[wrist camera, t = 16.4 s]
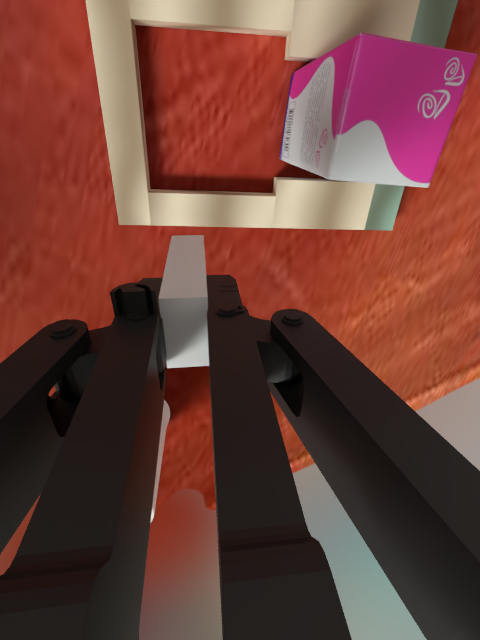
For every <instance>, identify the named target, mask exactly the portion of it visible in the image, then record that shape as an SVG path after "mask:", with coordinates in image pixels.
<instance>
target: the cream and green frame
mask: <svg viewBox="0 0 480 640" xmlns="http://www.w3.org/2000/svg"><path fill="white" fill-rule="evenodd" d="M457 2H458V0H86V7H87V13H88V20H89V27H90V33H91V40H92V47H93V53H94V60H95V67H96V74H97V80H98V87H99V94H100V100H101V107H102V114H103V120H104V127H105V134H106V140H107V147H108V154H109V161H110V167H111V174H112V181H113V187H114V194H115V201H116V207H117V214H118V221H119V225H162V226H209V227H256V228H303V229H350V230H392V229H393V225H394V222H395V218H396V215H397V211H398V208H399V204H400V201H401V197H402V194H403V190H404V187H405V186H398V185H385V184H372V183H360V182H348V181H337V180H329V179H321V178H293V177H274V183H273V193H257V192H225V191H193V190H161V189H151V188H150V177H149V166H148V156H147V145H146V134H145V124H144V113H143V102H142V92H141V81H140V70H139V60H138V49H137V38H136V28H135V25H141V26H154V27H167V28H180V29H193V30H206V31H219V32H232V33H245V34H258V35H271V36H284V37H287V38H286V50H285V60H289V61H303V62H312V61H314V60H316V59H317V58H319V57H321V56H322V55H324V54H326V53H327V52H329V51H331V50H333V49H334V48H336V47H338V46H340V45H341V44H343V43H345V42H346V41H348V40H349V39H351V38H353V37H354V36H356V35H358V34H359V33H362V32H363V33H367V34H373V35H379V36H383V37H389V38H394V39H399V40H404V41H410V42H414V43H420V44H425V45H430V46H435V47H440V48H445V44H446V41H447V37H448V34H449V30H450V27H451V23H452V20H453V16H454V13H455V9H456V6H457Z"/></svg>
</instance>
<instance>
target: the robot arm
mask: <svg viewBox="0 0 480 640" xmlns="http://www.w3.org/2000/svg"><path fill="white" fill-rule="evenodd" d="M110 295H111V300H112V304H113V309H114V314H115V317H114V320H113V322H112V325H110V326H107V327H103V328H99V329H95V330H90V331H88V327H87V324H86V323H85V322H83V321H80V320H68V319H66V320H63V321H62V320H60V321H57V322H55V323H52V324H50V325H48V326H46V327H44V328H43V329H41V330H40V331H39V332H38V333H37V334H35V335H34V336H33V337H32V338H30V339H29V340H28V341H27V342H26V343H24V344H23V345H22V346H21V347H20V348H18V349H17V350H16V351H15V352H14V353H12V354H11V355H10V356H9V357H8V358H6V359H5V360H4V361H3V362H2V363H0V554H1V552H2V551H3V549H4V548H5V546H6V545H7V543H8V542H9V540H10V539H11V537H12V536H13V534H14V533H15V531H16V530H17V528H18V527H19V525H20V524H21V522H22V521H23V519H24V518H25V516H26V515H27V513H28V512H29V510H30V509H31V507H32V506H33V504H34V503H35V501H36V500H37V498H38V497H39V495H40V494H41V495H40V498H39V501H38V503H37V505H36V508H35V510H34V512H33V515H32V517H31V520H30V522H29V524H28V527H27V529H26V531H25V534H24V536H23V539H22V541H21V544H20V546H19V548H18V551H17V553H16V556H15V558H14V560H13V561H12V563H11V565H10V567H9V568H8V569H7V571H6V572H5V573H4V574H3V575H1V576H0V640H139V623H140V612H141V603H142V594H143V585H144V576H145V567H146V558H147V549H148V540H149V531H150V522H151V513H152V504H153V495H154V486H155V477H156V468H157V459H158V450H159V441H160V432H161V423H162V414H163V405H164V396H165V387H166V370H165V363H167V368H181V367H197V366H209V375H210V395H211V415H212V435H213V454H214V474H215V494H216V513H217V533H218V553H219V574H220V594H221V613H222V636H223V640H352V639H351V636H350V633H349V629H348V626H347V623H346V619H345V616H344V613H343V609H342V606H341V603H340V599H339V596H338V593H337V589H336V586H335V583H334V579H333V576H332V573H331V570H330V567H329V564H328V561H327V558H326V555H325V552H324V550H323V549H322V547H321V545H320V543H319V541H317V540H316V539H314V538H313V537H311V535H310V533H309V531H308V529H307V525H306V522H305V519H304V515H303V511H302V507H301V504H300V500H299V496H298V493H297V489H296V485H295V482H294V479H293V474H292V471H291V467H290V463H289V460H288V456H287V452H286V449H285V445H284V441H283V438H282V434H281V430H280V427H279V423H278V420H277V416H276V412H275V409H274V405H273V401H272V398H271V394H270V392H271V393H272V395H273V397H274V398H275V400H276V401H277V403H278V405H279V406H280V408H281V409H282V411H283V412H284V414H285V416H286V417H287V419H288V420H289V422H290V424H291V425H292V427H293V428H294V430H295V431H296V433H297V435H298V436H299V438H300V439H301V441H302V443H303V444H304V446H305V447H306V449H307V451H308V452H309V454H310V455H311V457H312V458H313V460H314V462H315V463H316V465H317V466H318V468H319V470H320V471H321V473H322V474H323V476H324V477H325V479H326V481H327V482H328V484H329V485H330V487H331V489H332V490H333V491H334V493H335V495H336V496H337V498H338V499H339V501H340V503H341V504H342V506H343V508H344V509H345V511H346V512H347V514H348V516H349V517H350V519H351V520H352V522H353V523H354V525H355V527H356V528H357V530H358V531H359V533H360V535H361V536H362V538H363V539H364V541H365V542H366V544H367V546H368V547H369V548H370V550H371V552H372V553H373V555H374V557H375V558H376V560H377V561H378V563H379V565H380V566H381V568H382V569H383V571H384V573H385V574H386V575H387V577H388V579H389V581H390V582H391V583H392V585H393V587H394V588H395V590H396V592H397V593H398V595H399V596H400V598H401V600H402V601H403V603H404V604H405V606H406V607H407V609H408V611H409V612H410V614H411V615H412V617H413V618H414V620H415V622H416V623H417V625H418V626H419V628H420V630H421V631H422V633H423V634H424V636H425V638H426V639H427V640H480V471H479V470H478V469H477V468H476V467H475V466H473V465H472V464H471V463H470V462H469V461H468V460H467V459H466V458H465V457H464V456H463V455H462V454H460V453H459V452H458V451H457V450H456V449H455V448H454V447H453V446H452V445H451V444H449V442H447V441H446V440H445V439H444V438H443V437H442V436H441V435H440V434H439V433H438V432H436V430H434V429H433V428H432V427H431V426H430V425H429V424H428V423H427V422H426V421H425V420H424V419H422V418H421V417H420V416H419V415H418V414H417V413H416V412H415V411H414V410H413V409H412V408H411V407H409V406H408V405H407V404H406V403H405V402H404V401H403V400H402V399H401V398H400V397H399V396H397V395H396V394H395V393H394V392H393V391H392V390H391V389H390V388H389V387H388V386H387V385H386V384H384V383H383V382H382V381H381V380H380V379H379V378H378V377H377V376H376V375H375V374H374V373H372V372H371V371H370V370H369V369H368V368H367V367H366V366H365V365H364V364H363V363H362V362H361V361H359V360H358V359H357V358H356V357H355V356H354V355H353V354H352V353H351V352H350V351H349V350H347V349H346V348H345V347H344V346H343V345H342V344H341V343H340V342H339V341H338V340H337V339H336V338H334V337H333V336H332V335H331V334H330V333H329V332H328V331H327V330H326V329H325V328H324V327H322V326H321V325H320V324H319V323H318V322H317V321H316V320H315V319H314V318H313V317H312V316H310V315H309V314H307V313H306V312H303V311H300V310H297V309H284V310H280V311H277V312H275V313H274V314H273V315H272V318H271V321H270V320H262V319H258V318H255V317H252V316H250V315H249V313H248V310H247V309H246V307H245V306H243V305H242V302H241V298H240V294H239V291H238V287H237V283H236V280H235V279H234V278H233V277H232V276H230V275H207V276H206V266H205V251H204V237H203V235H188V236H172V238H171V242H170V247H169V252H168V256H167V261H166V266H165V270H164V275H163V278H143V279H142V280H140V281H139V282H138V283H137V282H136V283H127V284H123V285H120V286H118V287H116V288H114V289H113V290H112V291H111V292H110ZM54 385H55V388H56V392H55V393H54V394H53V395H52V396H51V397H49V395H48V394H49V392H50V390H51V389H52V387H53V386H54ZM41 492H42V493H41Z"/></svg>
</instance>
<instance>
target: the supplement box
mask: <svg viewBox="0 0 480 640" xmlns="http://www.w3.org/2000/svg"><path fill="white" fill-rule="evenodd" d="M476 56H477V54H474V53H469V52H463V51H457V50H450V49H445V48H440V47H435V46H430V45H425V44H420V43H414V42H410V41H404V40H399V39H394V38H389V37H383V36H379V35H373V34H367V33H363V32H362V33H359V34H358V35H356V36H354V37H353V38H351V39H349V40H348V41H346V42H345V43H343V44H341V45H340V46H338V47H336V48H334V49H333V50H331V51H329V52H327V53H326V54H324V55H322V56H321V57H319V58H317V59H316V60H314V61H312V62H310V63H309V64H307V65H306V66H304V67H302V68H300V69H298V70H297V71H295V72H294V73H293V74H292V78H291V84H290V90H289V96H288V103H287V109H286V116H285V123H284V129H283V137H282V144H281V152H280V159H281V160H283V161H285V162H287V163H289V164H292V165H294V166H297V167H299V168H302V169H304V170H307V171H309V172H312V173H314V174H317V175H319V176H322V177H324V178H326V179H329V180H337V181H348V182H360V183H372V184H385V185H398V186H412V187H423V188H427V187H429V185H430V181H431V179H432V176H433V174H434V171H435V168H436V165H437V163H438V160H439V157H440V155H441V152H442V149H443V146H444V144H445V141H446V138H447V136H448V133H449V130H450V127H451V125H452V122H453V119H454V116H455V113H456V111H457V108H458V105H459V103H460V100H461V97H462V95H463V92H464V89H465V87H466V84H467V81H468V78H469V76H470V73H471V70H472V68H473V65H474V62H475V59H476Z"/></svg>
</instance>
